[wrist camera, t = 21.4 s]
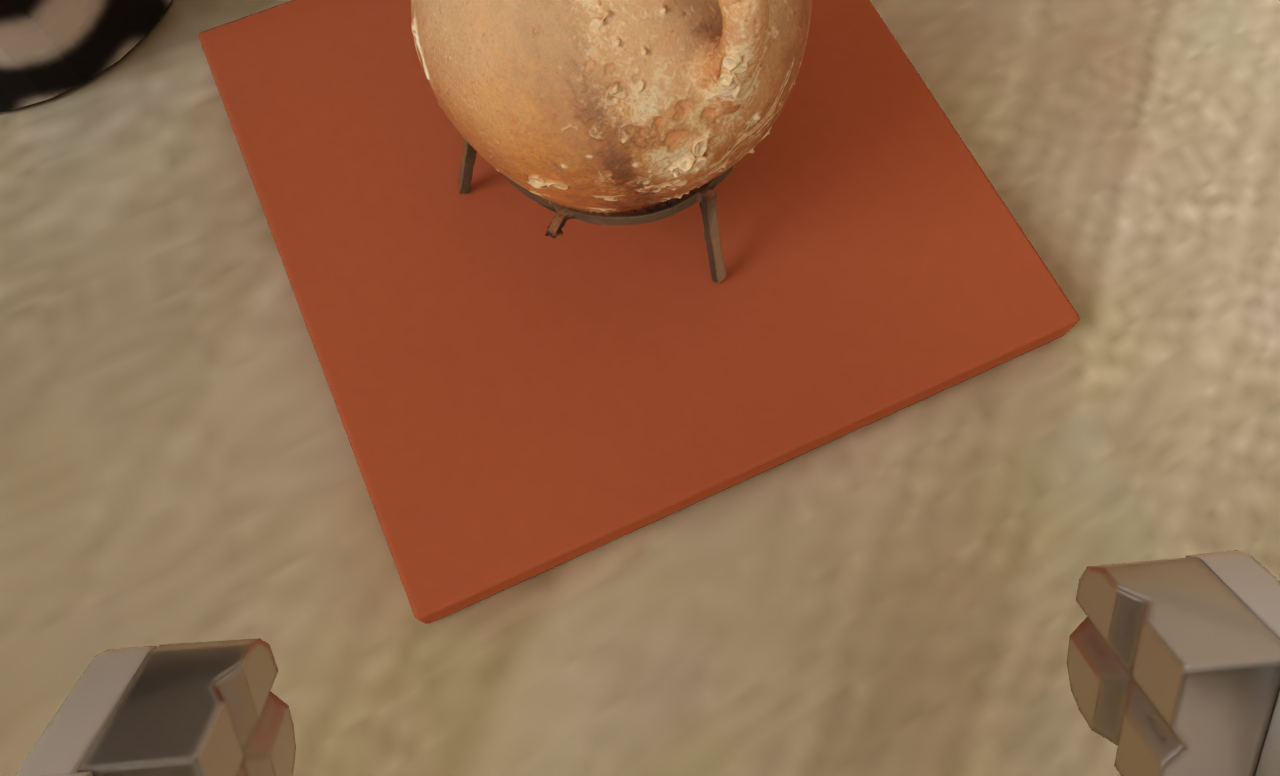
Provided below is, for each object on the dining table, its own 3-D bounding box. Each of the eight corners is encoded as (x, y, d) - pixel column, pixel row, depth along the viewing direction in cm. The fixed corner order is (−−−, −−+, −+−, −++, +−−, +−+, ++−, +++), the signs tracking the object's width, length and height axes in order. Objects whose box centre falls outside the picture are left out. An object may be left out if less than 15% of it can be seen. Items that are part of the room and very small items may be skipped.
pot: (519, 34, 20) (409, 284, 18) (475, -413, 13) (278, -104, 10) (792, 98, 20) (723, 364, 17) (903, -328, 13) (812, 17, 10)
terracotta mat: (212, 57, 21) (196, 31, 20) (756, -137, 22) (760, -167, 22) (425, 626, 17) (415, 621, 16) (1064, 335, 18) (1082, 318, 18)
